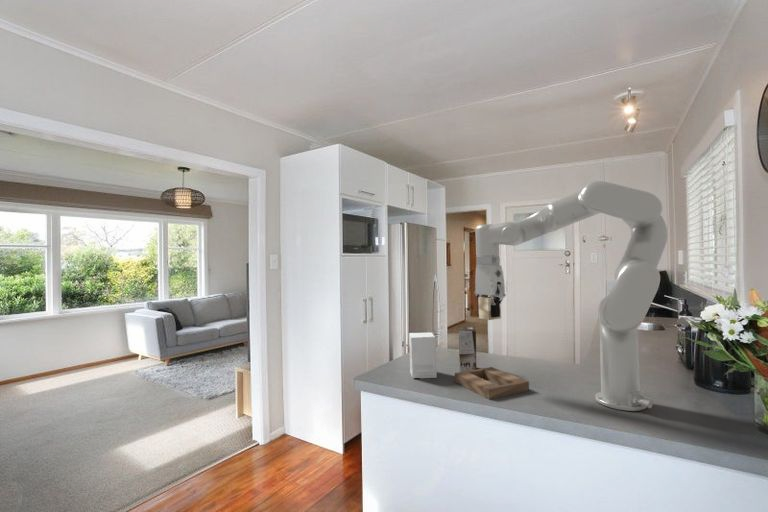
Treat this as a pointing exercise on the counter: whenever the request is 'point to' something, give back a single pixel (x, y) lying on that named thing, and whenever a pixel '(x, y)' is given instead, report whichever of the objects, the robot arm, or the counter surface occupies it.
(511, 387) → the pocket block
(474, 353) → the coffee box
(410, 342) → the supplement box
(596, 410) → the counter surface
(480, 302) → the maple block
